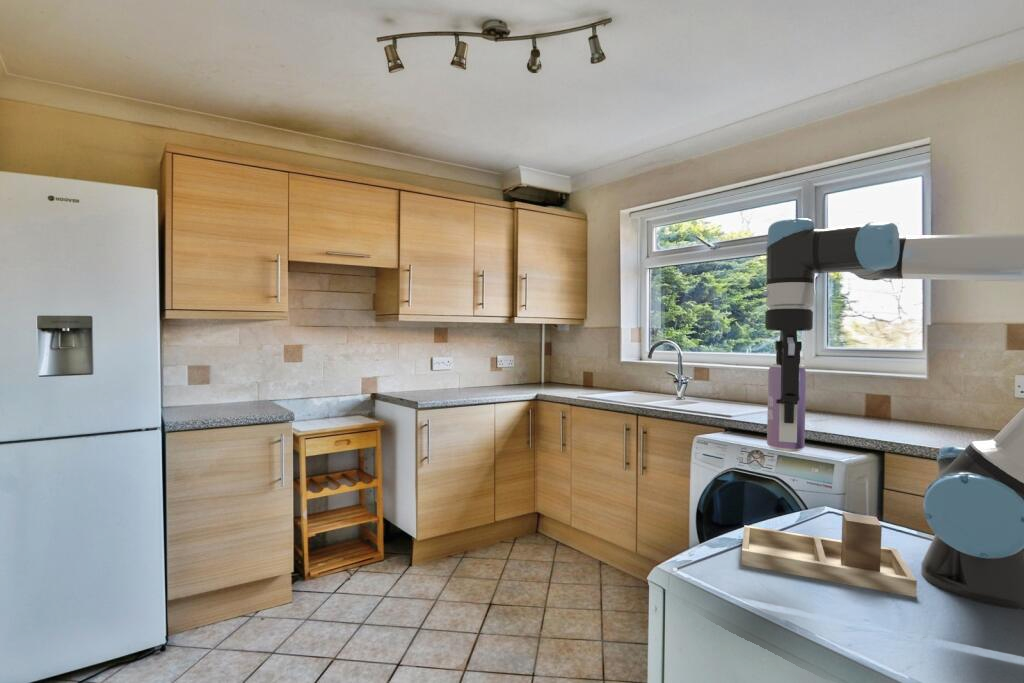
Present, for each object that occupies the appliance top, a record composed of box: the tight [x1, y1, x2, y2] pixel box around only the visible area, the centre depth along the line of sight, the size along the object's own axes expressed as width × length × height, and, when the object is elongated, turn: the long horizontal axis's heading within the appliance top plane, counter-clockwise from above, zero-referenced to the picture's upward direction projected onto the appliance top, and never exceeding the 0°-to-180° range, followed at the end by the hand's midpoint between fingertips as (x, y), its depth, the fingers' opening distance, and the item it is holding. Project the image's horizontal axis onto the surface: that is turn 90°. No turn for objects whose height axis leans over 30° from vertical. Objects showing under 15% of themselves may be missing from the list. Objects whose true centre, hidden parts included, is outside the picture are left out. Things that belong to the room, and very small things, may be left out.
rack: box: [741, 524, 918, 598], centre depth 96 cm, size 25×14×3 cm, turn 65°
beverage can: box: [766, 363, 807, 453], centre depth 97 cm, size 6×6×15 cm
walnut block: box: [841, 512, 883, 572], centre depth 93 cm, size 5×5×9 cm
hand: (786, 438), depth 97 cm, fingers closed on beverage can, 6 cm apart
